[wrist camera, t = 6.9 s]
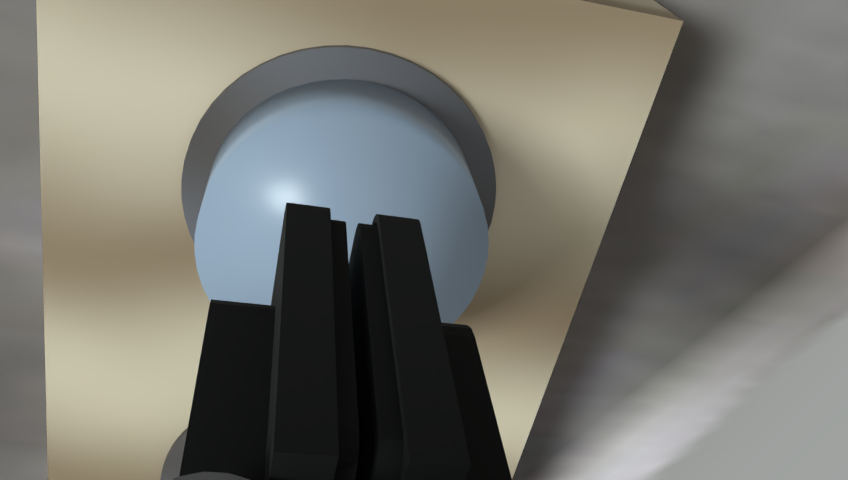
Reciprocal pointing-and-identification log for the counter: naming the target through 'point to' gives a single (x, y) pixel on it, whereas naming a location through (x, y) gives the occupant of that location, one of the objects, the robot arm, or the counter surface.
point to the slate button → (339, 187)
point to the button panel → (256, 82)
